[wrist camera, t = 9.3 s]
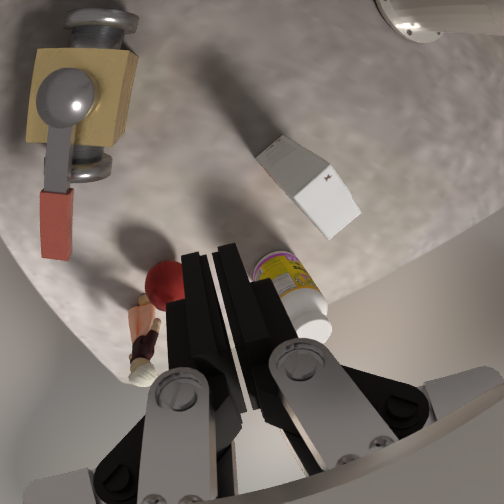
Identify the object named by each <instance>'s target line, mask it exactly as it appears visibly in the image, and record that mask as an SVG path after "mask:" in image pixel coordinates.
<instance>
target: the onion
mask: <svg viewBox="0 0 504 504" xmlns="http://www.w3.org/2000/svg"><path fill="white" fill-rule="evenodd" d="M145 292H146V294H147V297H148V300H149V301H150V303H151V304H153V305H154V306H155V307H156V308H157V309H158V310H161V311H165V312H166V303H167V302H171V301H176V300H180V299H184V298H185V295H184V284H183V273H182V264H181V263H179V262H176V261H169V260H168V261H163V262H160V263H158V264H156V265H155V266H154V267H152V268H151V270H150V271H149V273H148V274H147V277H146V281H145Z"/></svg>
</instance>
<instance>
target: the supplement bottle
mask: <svg viewBox="0 0 504 504" xmlns="http://www.w3.org/2000/svg"><path fill="white" fill-rule="evenodd" d="M266 278H271V280H272V282H273V284H274V286H275V288H276V290H277V293H278V295H279V297H280V299H281V301H282V303H283V305H284V307H285V310H286V312H287V314H288V316H289V318H290V320H291V322H292V324H293V327H294V329H295V331H296V333H297V335H298V337H299V338H309V339H314V340H316V341H318V342H320V343H322V344H323V343H324V342H325V341H327V339H328V338H329V337H330V334H331V331H332V326H331V324H330V322H329V320H328V318H327V317H326V315H327V309H328V308H327V302H326V300H325V298H324V296H323V295H322V293H321V292H320V290H319V289H318V287H317V286H316V284H315V283H314V281H313V280H312V278H311V277H310V275H309V274H308V273H307V271H306V270H305V268H304V267H303V265H302V264H301V262H300V261H299V260H298V258H297V257H296V256H295V255H293V254H292V253H290V252H286V251H275V252H272V253H269V254H267V255H266V256H264V257H263V258H262V259H261V260H260V261H259V262H258V263H257V265H256V266H255V269H254V272H253V280H254V281H258V280H262V279H266Z"/></svg>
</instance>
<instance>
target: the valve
mask: <svg viewBox="0 0 504 504" xmlns="http://www.w3.org/2000/svg"><path fill="white" fill-rule="evenodd" d="M138 21H139V17H138V16H137V15H135V14H132V13H129V12H125V11H120V10H114V9H105V8H82V9H75V10H71V11H68V12H67V14H66V18H65V21H64V25H63V28H64V29H67V30H71V31H72V35H71V39H70V44H69V48H41V49H37V54H36V60H35V65H34V71H33V77H32V84H31V91H30V99H29V107H28V118H27V130H26V142H33V143H47V136H48V127H49V125H47V124H46V123H45V122H44V121H43V120H42V119H41V118H40V116H39V114H38V112H37V108H36V96H37V92H38V89H39V87H40V85H41V83H42V82H43V80H44V79H45V78H46V77H47V76H48V75H49V74H51V73H52V72H54V71H56V70H58V69H61V68H79V69H83V70H86V71H87V72H89V73H90V74H91V75H92V76H93V77H94V78H95V80H96V82H97V85H98V90H99V95H98V101H97V104H96V106H95V108H94V110H93V111H92V113H91V114H90V115H89V116H88V117H87V118H85V119H84V120H82V121H81V122H79V123H77V124H76V131H75V138H74V147H73V156H72V167H71V180H70V183H87V182H94V181H99V180H102V179H105V178H107V177H108V176H110V174H111V167H112V157H111V156H110V155H108V154H105V153H103V150H104V147H113V146H114V144H115V143H116V142H117V140H118V139H119V138H120V137H121V136H122V134H123V133H124V132H125V126H126V119H127V113H128V107H129V102H130V96H131V91H132V86H133V81H134V76H135V71H136V67H137V62H138V58H139V57H137V56H136V55H135V54H133V53H132V52H131V51H129V50H121V45H122V41H123V37H124V34H132V33H135V32H136V28H137V25H138ZM45 159H46V157H45V158H44V175H45Z"/></svg>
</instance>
